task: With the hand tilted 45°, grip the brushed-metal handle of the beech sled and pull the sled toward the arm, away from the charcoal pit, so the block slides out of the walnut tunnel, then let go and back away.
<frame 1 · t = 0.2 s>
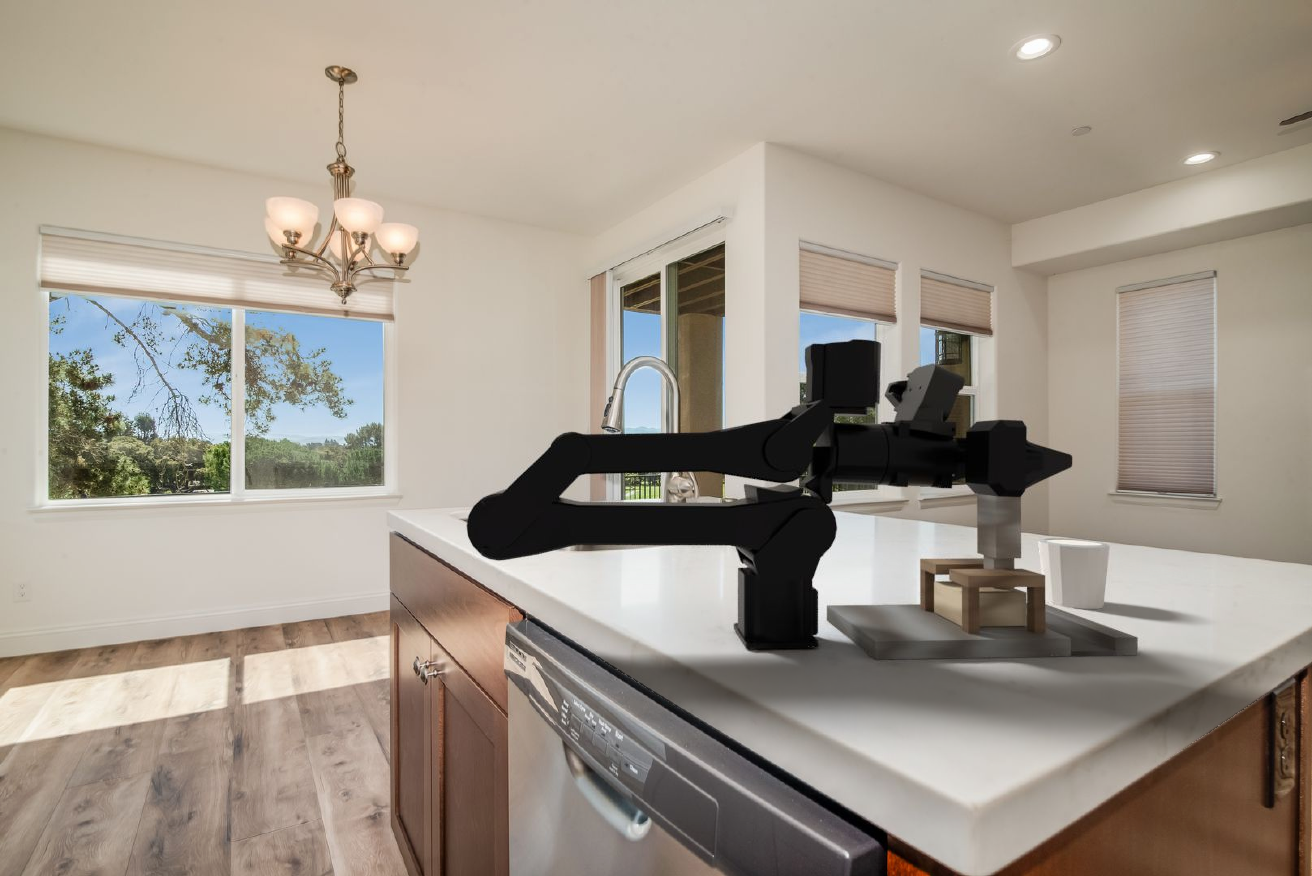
hand: (1035, 460, 60), 17 cm above the worktop, tool horizontal, fingers open, 9 cm apart
tunnel track: (963, 636, 59), on the worktop
white cup: (1073, 604, 72), on the worktop
sled: (979, 555, 59), point 8 cm above the worktop, slide at 0.0 cm
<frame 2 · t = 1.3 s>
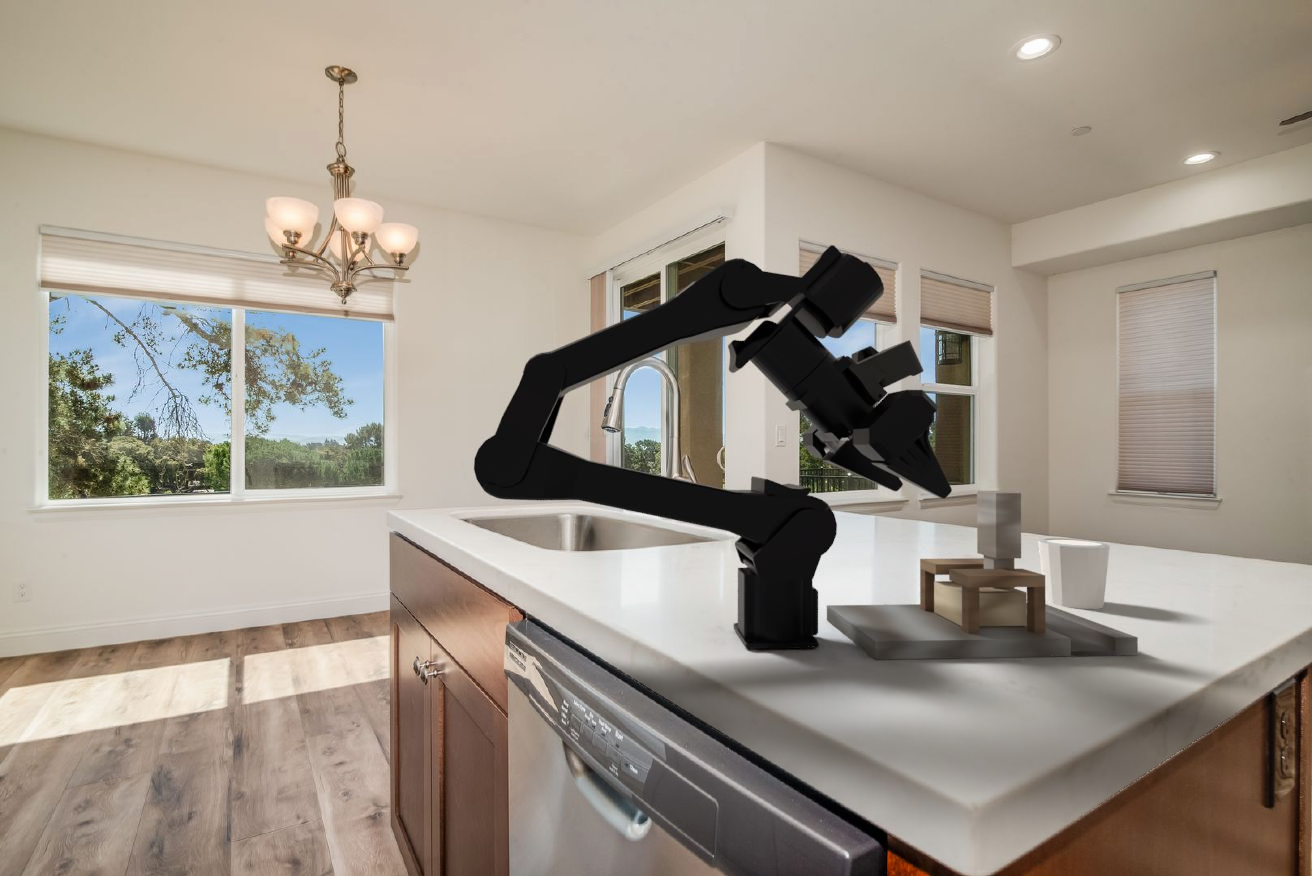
hand: (921, 491, 59), 14 cm above the worktop, tool tilted 45°, fingers open, 9 cm apart
nothing on the worktop moved.
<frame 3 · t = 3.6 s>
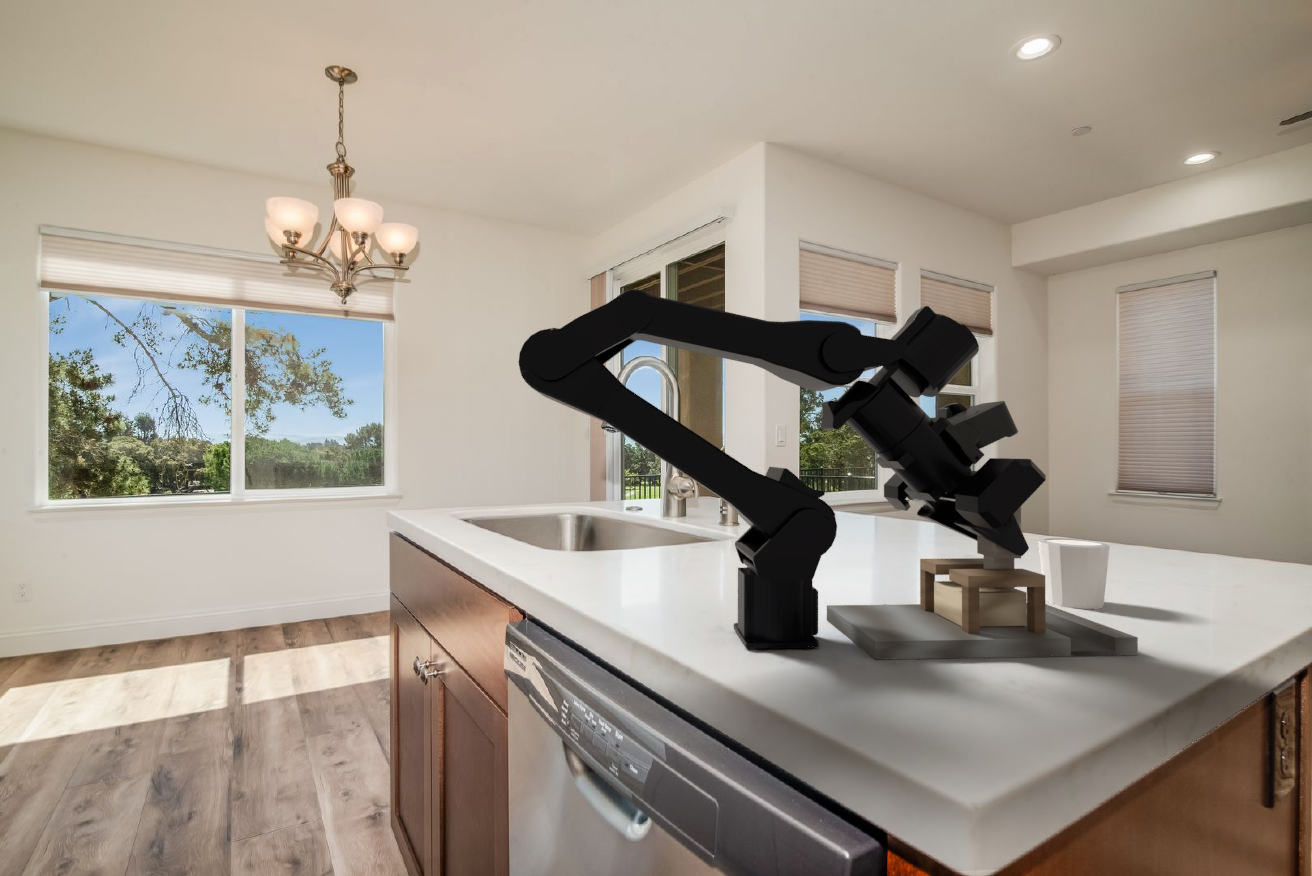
hand: (1012, 549, 59), 8 cm above the worktop, tool tilted 45°, fingers closed on sled, 3 cm apart
sled: (979, 555, 59), point 8 cm above the worktop, slide at 0.0 cm, touching gripper
everything else where it was.
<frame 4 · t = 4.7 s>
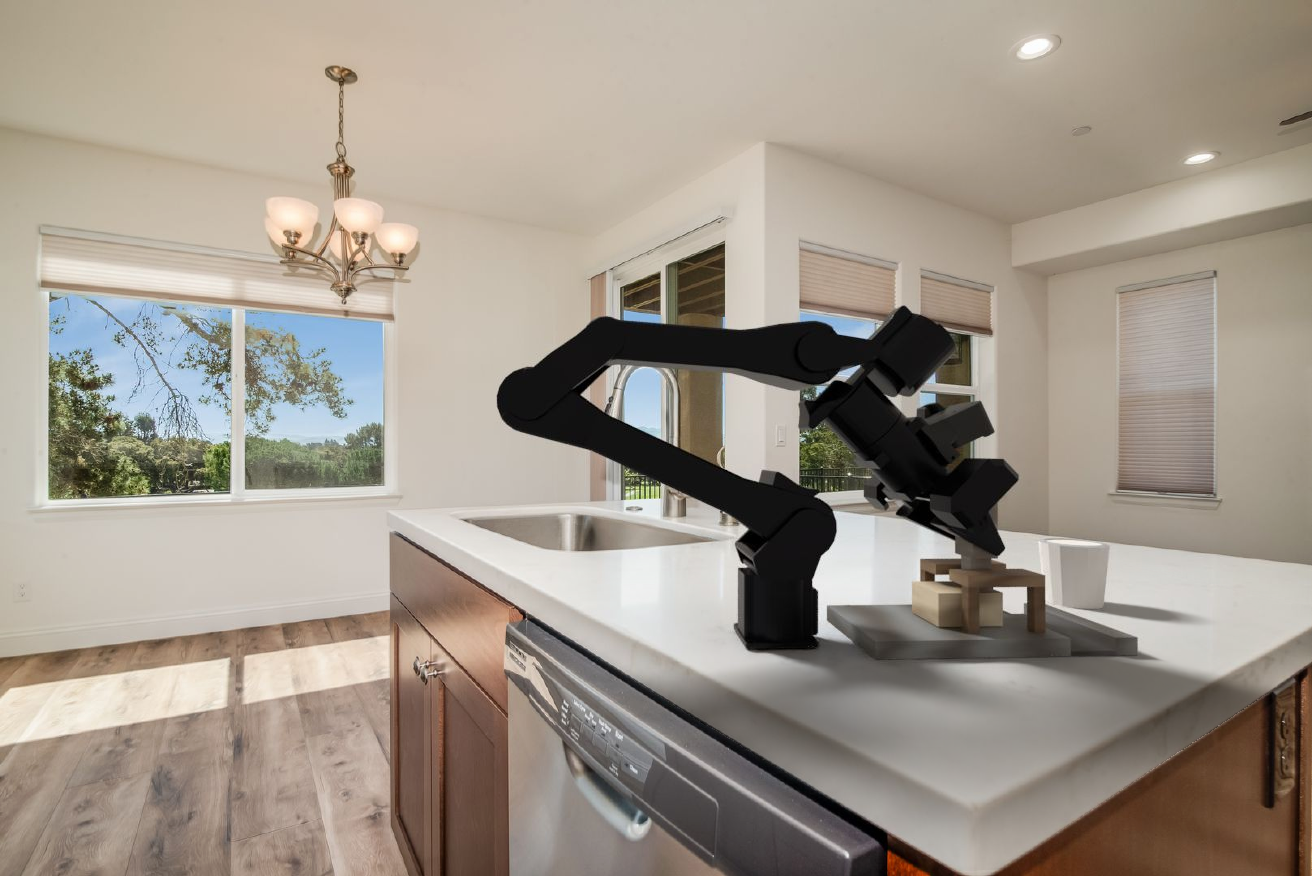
hand: (990, 549, 59), 8 cm above the worktop, tool tilted 45°, fingers closed on sled, 3 cm apart
sled: (956, 555, 59), point 8 cm above the worktop, slide at 2.2 cm, touching gripper
everything else where it was.
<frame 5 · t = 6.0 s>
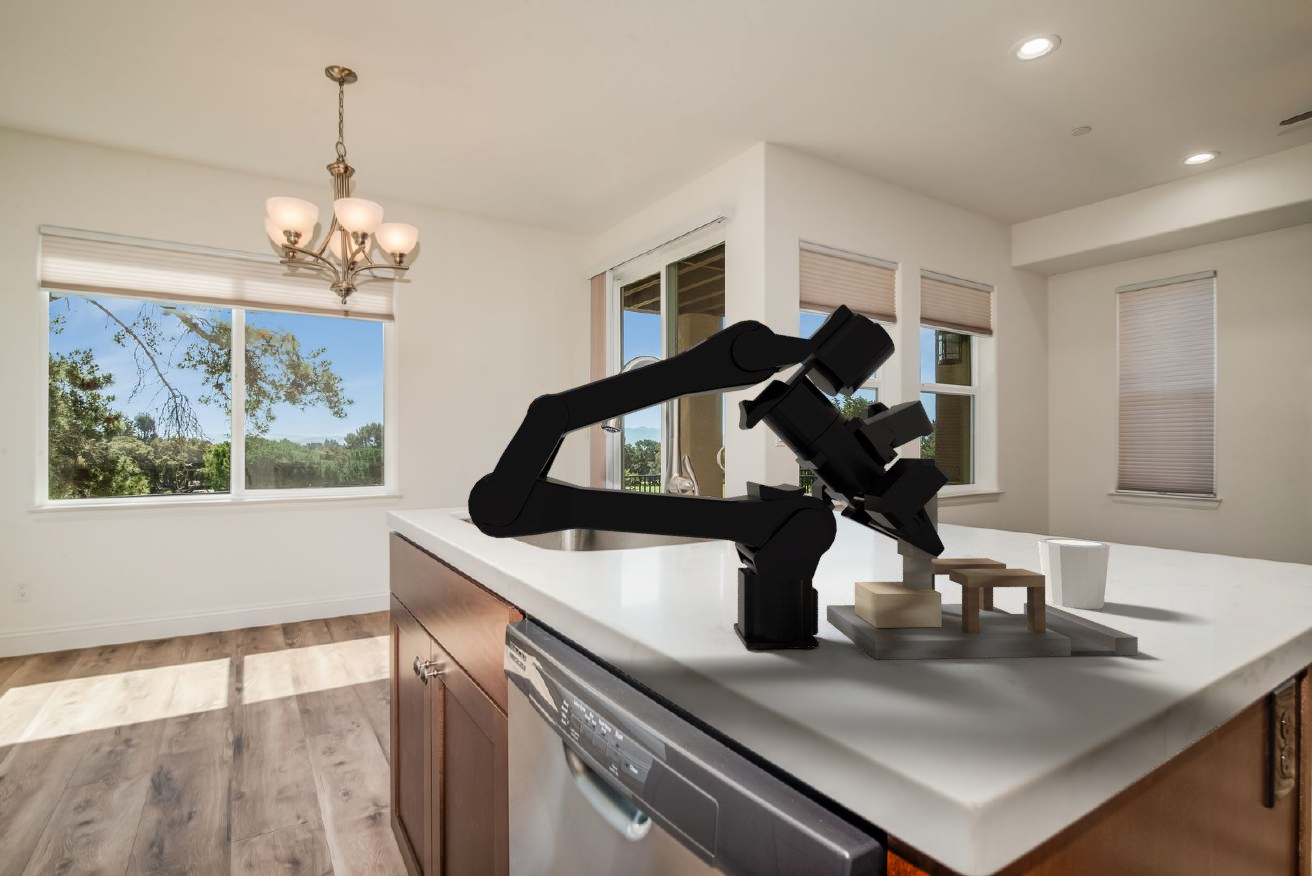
hand: (931, 550, 59), 8 cm above the worktop, tool tilted 45°, fingers closed on sled, 3 cm apart
sled: (897, 555, 58), point 8 cm above the worktop, slide at 7.9 cm, touching gripper
everything else where it was.
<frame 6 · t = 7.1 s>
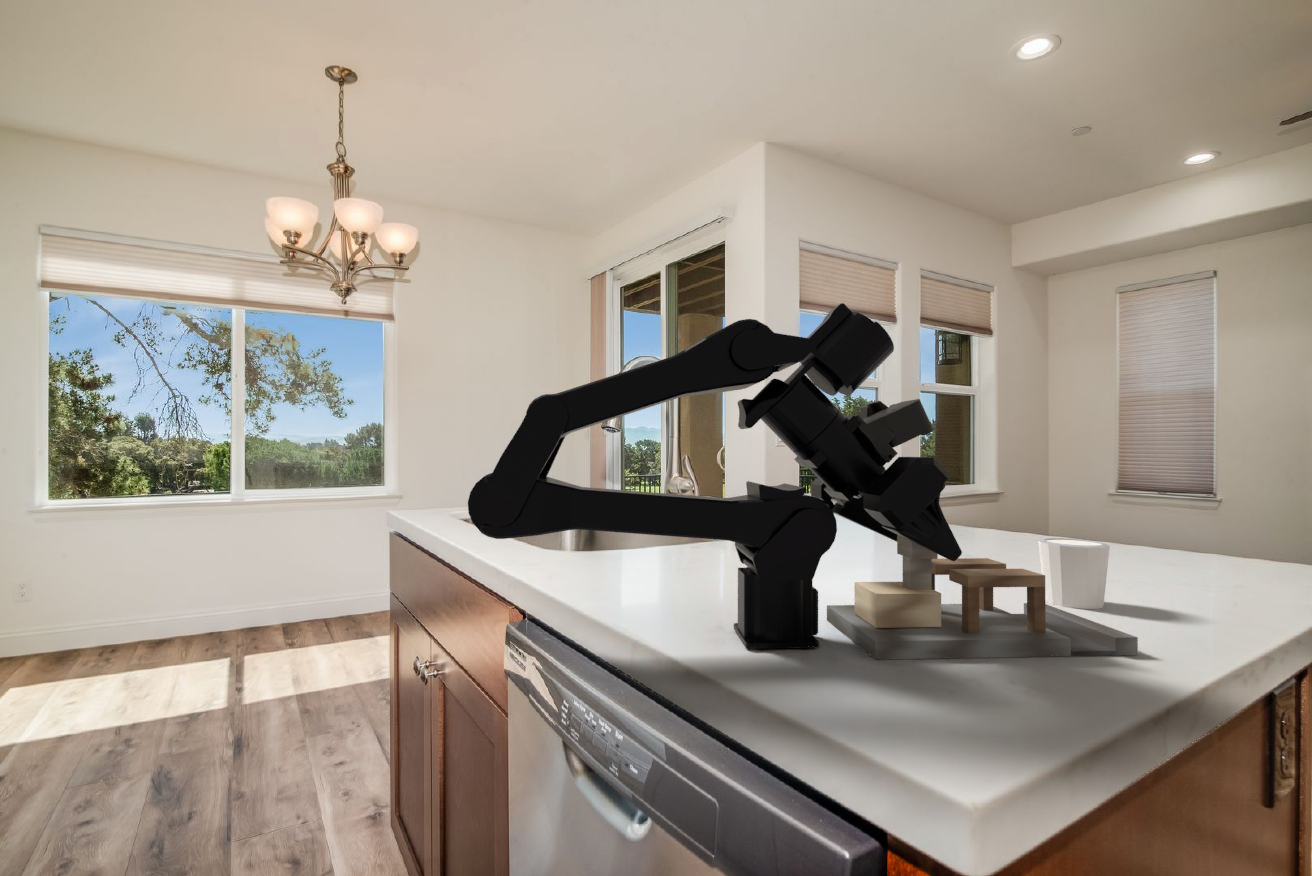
hand: (930, 548, 59), 8 cm above the worktop, tool tilted 45°, fingers open, 9 cm apart
sled: (897, 555, 58), point 8 cm above the worktop, slide at 8.0 cm
everything else where it was.
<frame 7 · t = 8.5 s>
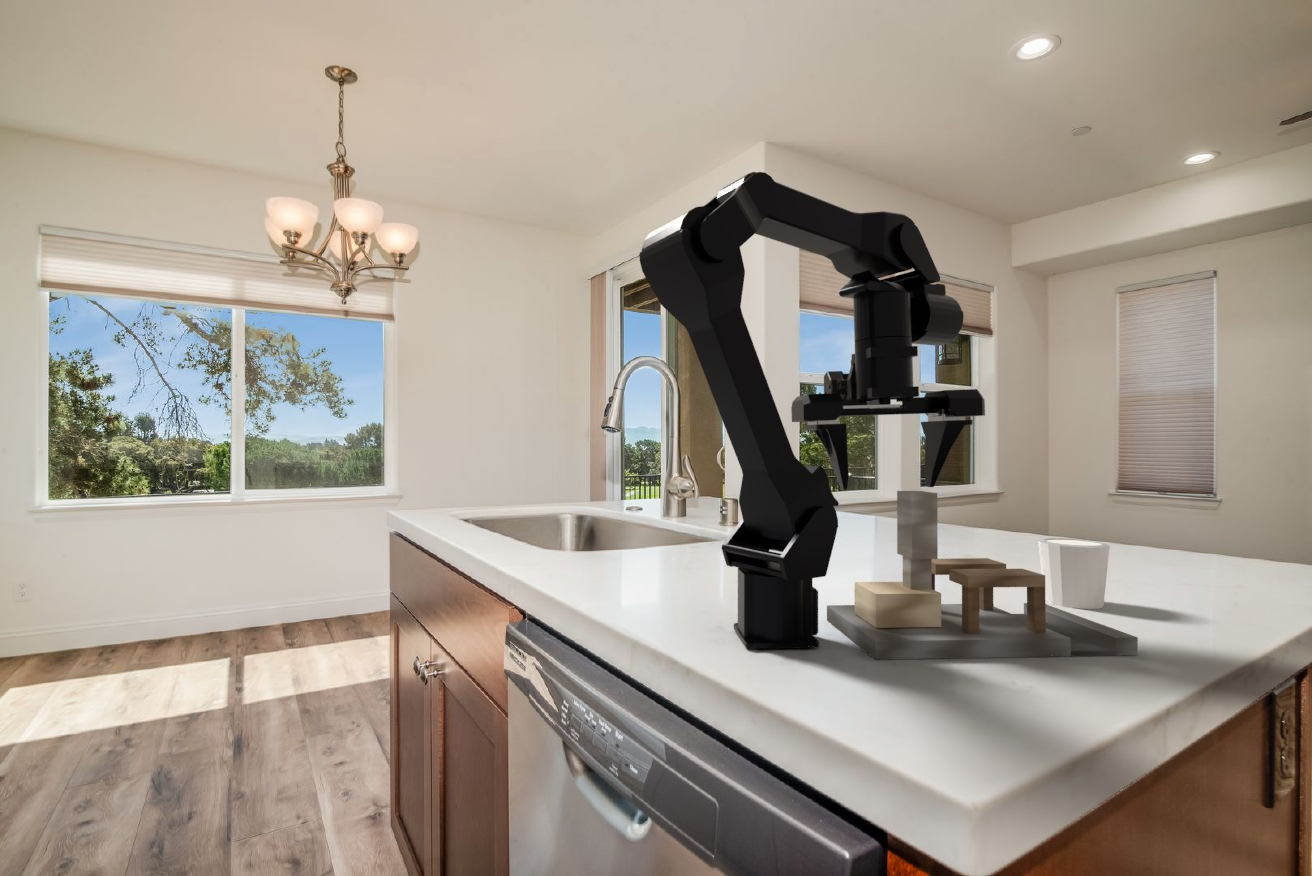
hand: (887, 488, 66), 13 cm above the worktop, tool pointing down, fingers open, 9 cm apart
nothing on the worktop moved.
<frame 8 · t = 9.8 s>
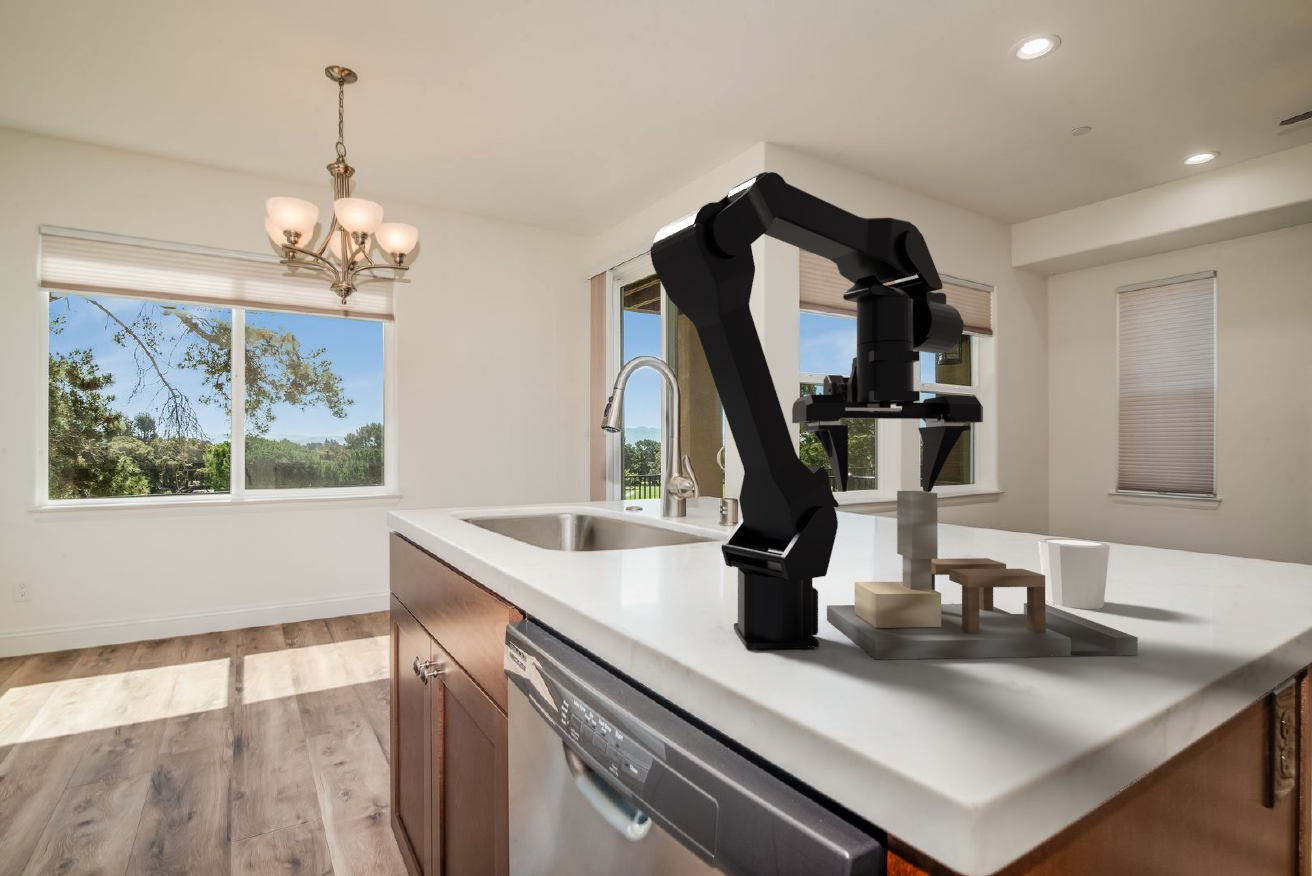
hand: (885, 491, 67), 13 cm above the worktop, tool pointing down, fingers open, 9 cm apart
nothing on the worktop moved.
at the end: sled slide at 8.0 cm; the gripper is holding nothing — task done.
